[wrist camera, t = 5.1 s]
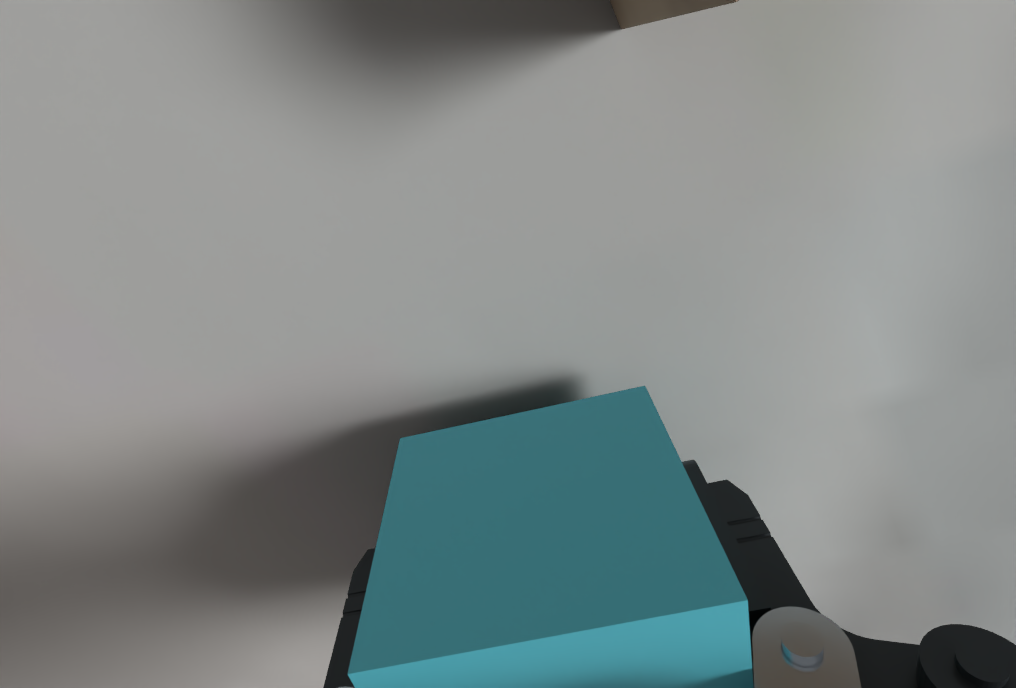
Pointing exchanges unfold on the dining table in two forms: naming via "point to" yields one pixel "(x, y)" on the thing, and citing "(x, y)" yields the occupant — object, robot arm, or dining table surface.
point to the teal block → (550, 560)
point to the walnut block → (658, 9)
